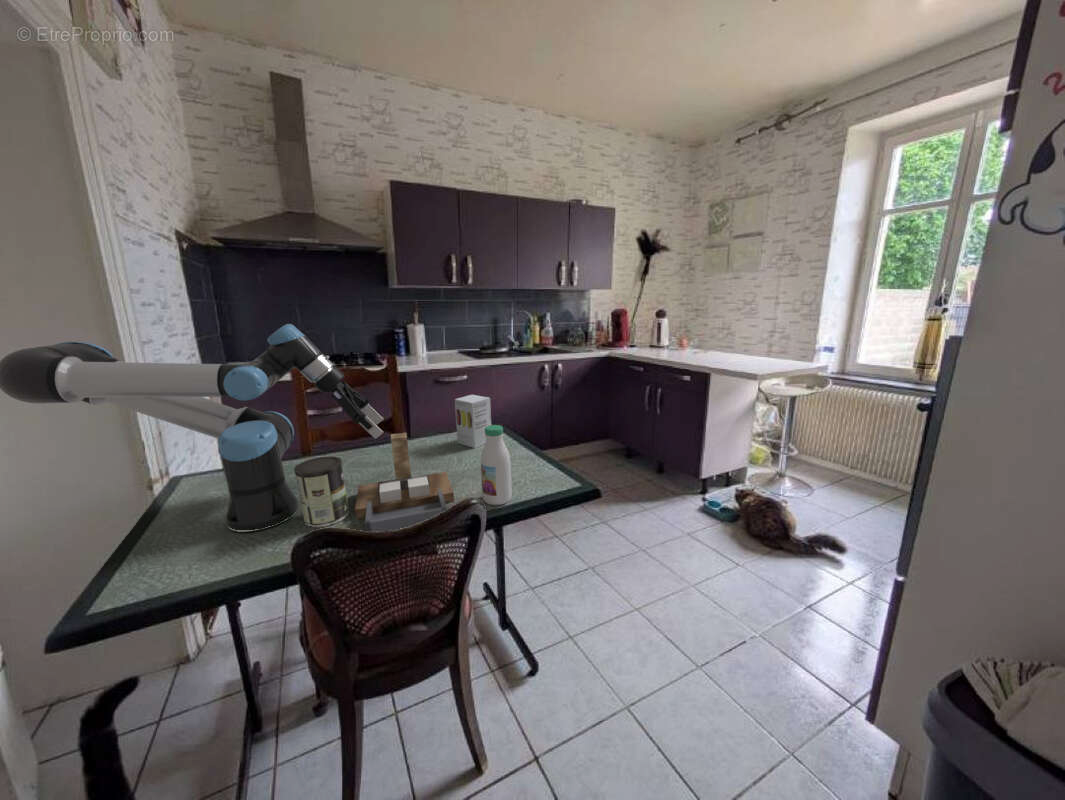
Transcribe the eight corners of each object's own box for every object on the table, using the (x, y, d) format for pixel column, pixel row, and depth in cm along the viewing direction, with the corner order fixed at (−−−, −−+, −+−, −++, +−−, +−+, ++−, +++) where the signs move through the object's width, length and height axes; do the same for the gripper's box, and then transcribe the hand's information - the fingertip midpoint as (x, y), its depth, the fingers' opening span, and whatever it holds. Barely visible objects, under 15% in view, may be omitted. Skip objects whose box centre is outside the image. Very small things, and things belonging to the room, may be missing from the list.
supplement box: (456, 443, 150) (453, 399, 146) (474, 436, 158) (471, 393, 153) (475, 448, 145) (472, 402, 141) (493, 441, 152) (490, 397, 148)
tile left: (380, 503, 103) (379, 492, 102) (381, 494, 108) (379, 484, 107) (401, 499, 105) (400, 488, 104) (401, 491, 109) (399, 480, 108)
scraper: (379, 493, 108) (372, 443, 105) (379, 484, 113) (373, 436, 110) (429, 484, 112) (424, 436, 109) (427, 476, 117) (423, 430, 114)
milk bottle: (506, 489, 114) (503, 421, 109) (515, 502, 107) (512, 429, 102) (479, 495, 111) (475, 425, 106) (487, 508, 104) (482, 434, 99)
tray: (367, 539, 92) (365, 523, 91) (369, 516, 102) (367, 501, 101) (448, 523, 98) (446, 508, 97) (442, 503, 107) (441, 489, 106)
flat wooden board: (356, 518, 101) (354, 509, 100) (359, 493, 114) (358, 485, 113) (454, 501, 108) (453, 492, 108) (446, 479, 121) (446, 471, 121)
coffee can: (341, 502, 109) (333, 452, 106) (355, 516, 102) (347, 463, 99) (298, 516, 103) (288, 464, 99) (310, 533, 95) (300, 477, 92)
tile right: (409, 498, 105) (408, 487, 104) (408, 489, 110) (407, 479, 109) (429, 494, 107) (428, 484, 106) (427, 486, 111) (426, 476, 111)
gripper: (329, 373, 101) (390, 432, 110) (339, 359, 124) (389, 409, 132) (304, 393, 101) (367, 451, 109) (319, 375, 123) (370, 424, 132)
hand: (379, 428), depth 121 cm, fingers open, 13 cm apart
